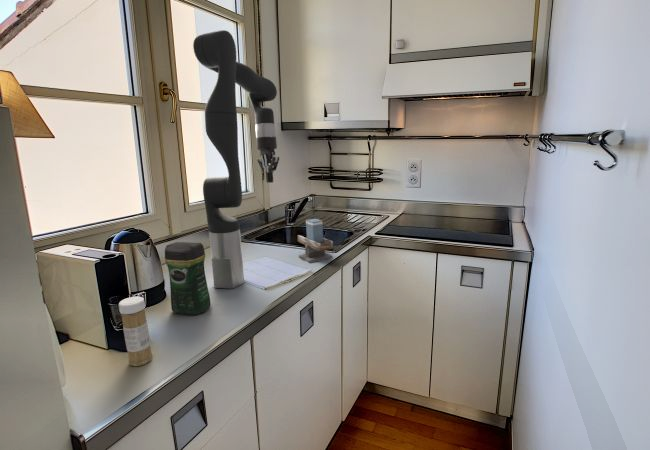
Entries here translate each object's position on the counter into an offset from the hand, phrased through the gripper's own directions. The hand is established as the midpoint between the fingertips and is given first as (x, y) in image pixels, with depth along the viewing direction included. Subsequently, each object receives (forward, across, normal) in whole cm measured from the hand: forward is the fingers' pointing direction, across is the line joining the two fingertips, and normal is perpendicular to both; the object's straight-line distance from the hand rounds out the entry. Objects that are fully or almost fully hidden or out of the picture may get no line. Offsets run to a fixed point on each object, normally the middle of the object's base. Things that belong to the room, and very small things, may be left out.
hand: (270, 182), depth 146 cm
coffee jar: (+32, +28, -44) cm, 61 cm away
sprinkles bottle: (+34, +45, -61) cm, 83 cm away
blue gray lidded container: (+23, +17, +7) cm, 29 cm away
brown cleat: (+29, +16, +7) cm, 34 cm away
